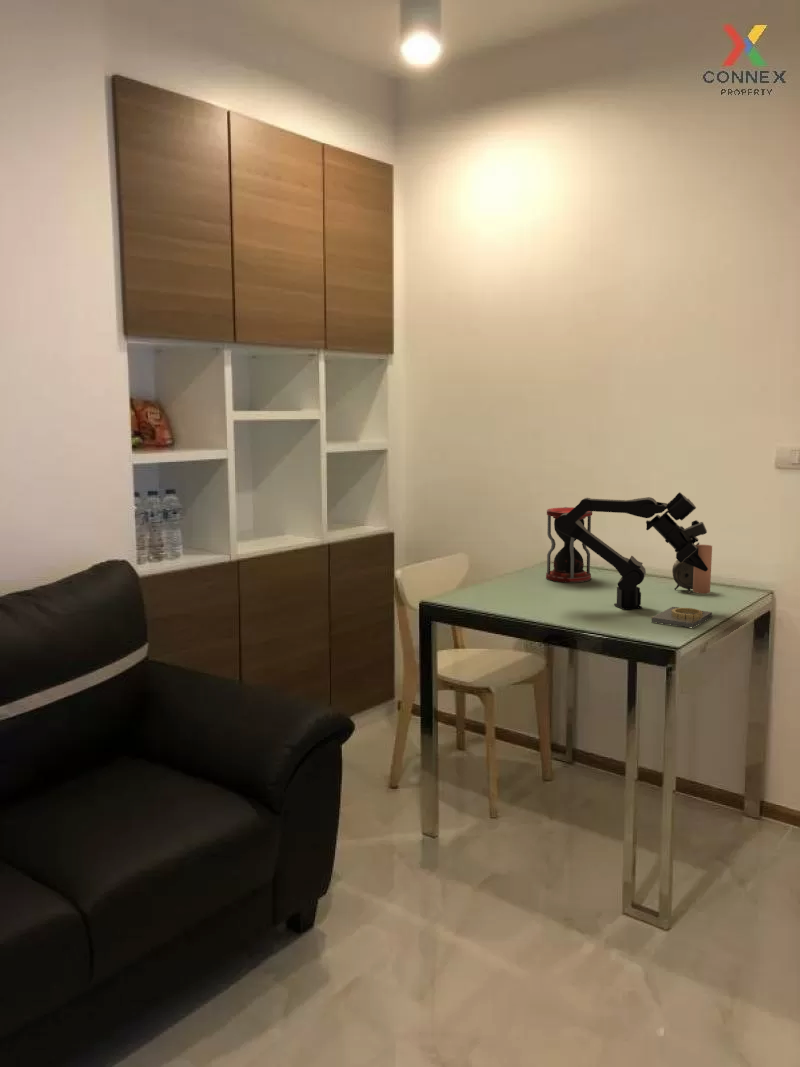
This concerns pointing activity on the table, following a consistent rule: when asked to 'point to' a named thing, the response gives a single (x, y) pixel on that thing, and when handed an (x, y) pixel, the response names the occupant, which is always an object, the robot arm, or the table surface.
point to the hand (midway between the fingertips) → (707, 568)
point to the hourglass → (567, 552)
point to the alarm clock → (683, 575)
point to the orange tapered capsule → (703, 577)
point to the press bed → (682, 616)
